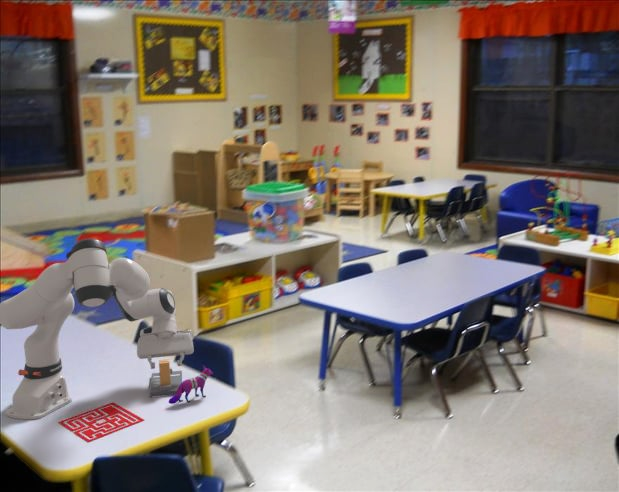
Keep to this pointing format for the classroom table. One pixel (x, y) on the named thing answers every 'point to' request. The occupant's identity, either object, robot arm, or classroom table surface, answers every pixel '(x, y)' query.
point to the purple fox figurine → (191, 386)
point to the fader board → (165, 389)
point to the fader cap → (164, 372)
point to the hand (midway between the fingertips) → (166, 366)
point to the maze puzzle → (89, 432)
